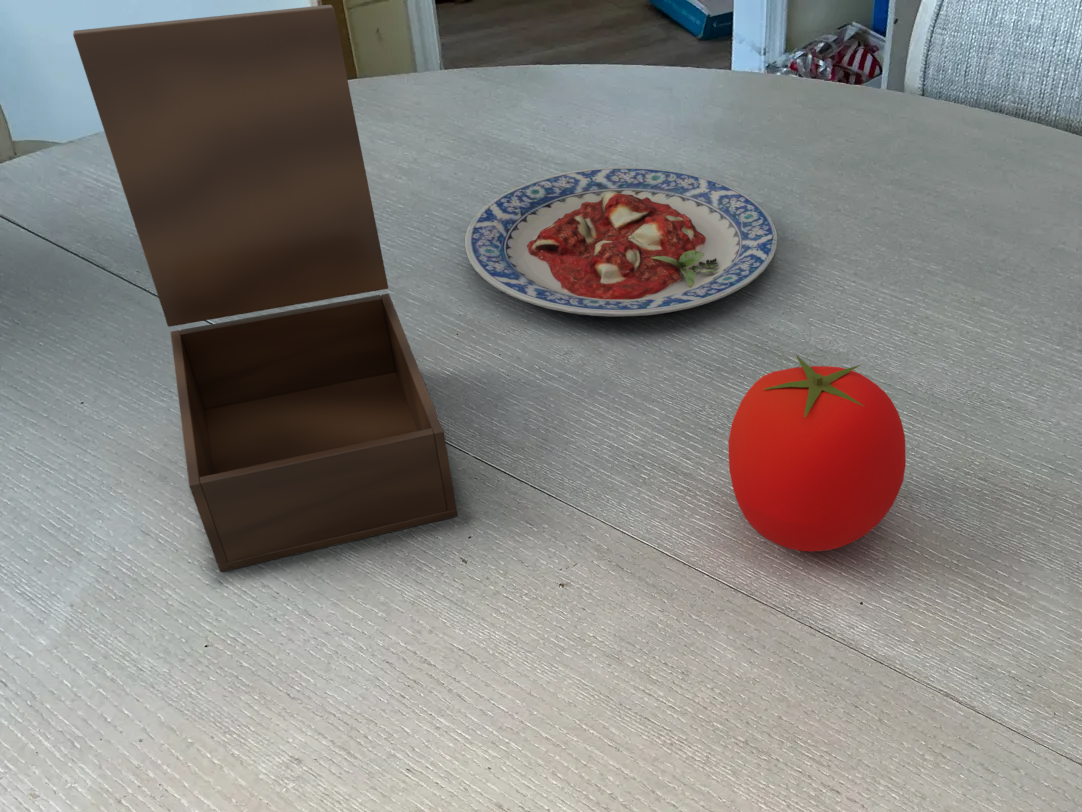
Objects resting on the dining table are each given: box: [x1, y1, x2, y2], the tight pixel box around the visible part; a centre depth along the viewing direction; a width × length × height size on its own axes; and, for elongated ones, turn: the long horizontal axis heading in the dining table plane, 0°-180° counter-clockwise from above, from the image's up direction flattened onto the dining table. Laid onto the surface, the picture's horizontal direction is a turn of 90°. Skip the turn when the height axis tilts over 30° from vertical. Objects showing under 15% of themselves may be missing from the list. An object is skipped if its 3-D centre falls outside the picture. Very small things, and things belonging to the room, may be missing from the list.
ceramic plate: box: [464, 166, 778, 317], centre depth 98 cm, size 26×26×3 cm
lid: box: [72, 4, 389, 328], centre depth 73 cm, size 18×14×1 cm
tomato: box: [727, 354, 907, 552], centre depth 70 cm, size 10×11×11 cm
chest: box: [169, 293, 459, 573], centre depth 75 cm, size 17×14×7 cm
